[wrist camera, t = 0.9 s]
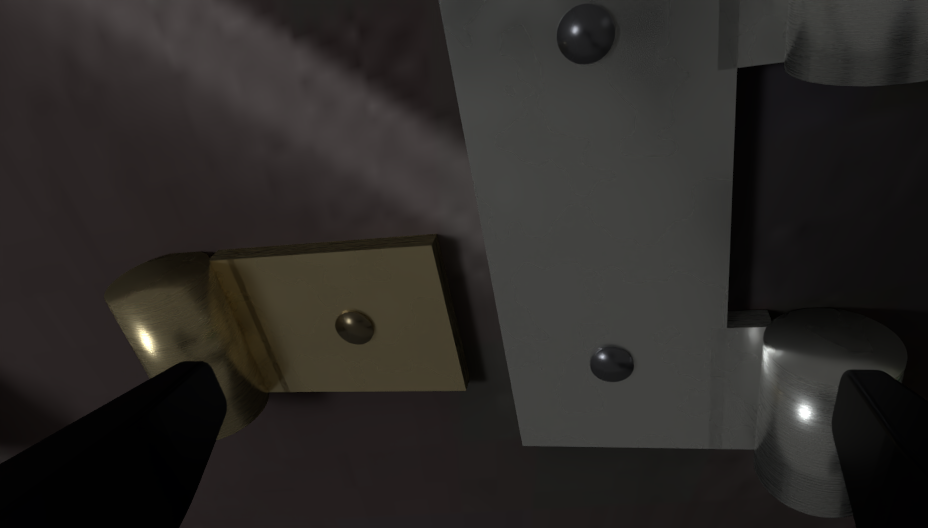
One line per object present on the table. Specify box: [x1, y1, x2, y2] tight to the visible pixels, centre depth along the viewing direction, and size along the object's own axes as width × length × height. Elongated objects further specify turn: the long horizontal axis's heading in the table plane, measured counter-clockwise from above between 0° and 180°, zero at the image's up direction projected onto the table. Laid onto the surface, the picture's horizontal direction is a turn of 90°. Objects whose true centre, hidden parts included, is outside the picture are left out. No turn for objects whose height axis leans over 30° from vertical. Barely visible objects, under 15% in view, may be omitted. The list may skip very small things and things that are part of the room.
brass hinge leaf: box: [104, 234, 470, 440], centre depth 25 cm, size 7×13×4 cm, turn 100°
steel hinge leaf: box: [439, 0, 928, 518], centre depth 19 cm, size 21×13×4 cm, turn 10°
